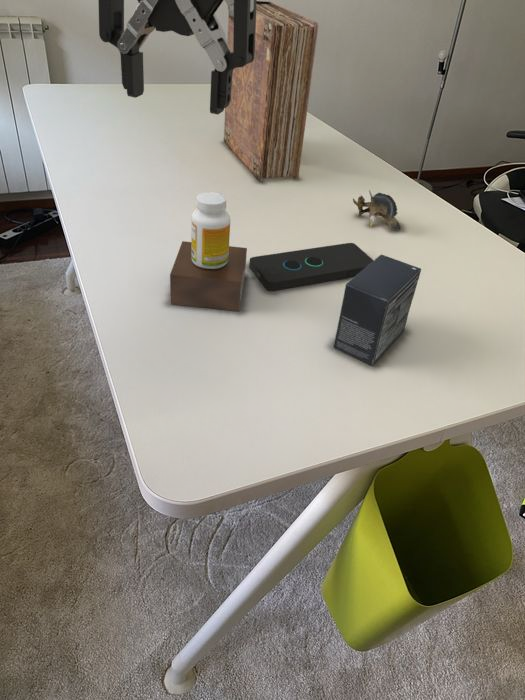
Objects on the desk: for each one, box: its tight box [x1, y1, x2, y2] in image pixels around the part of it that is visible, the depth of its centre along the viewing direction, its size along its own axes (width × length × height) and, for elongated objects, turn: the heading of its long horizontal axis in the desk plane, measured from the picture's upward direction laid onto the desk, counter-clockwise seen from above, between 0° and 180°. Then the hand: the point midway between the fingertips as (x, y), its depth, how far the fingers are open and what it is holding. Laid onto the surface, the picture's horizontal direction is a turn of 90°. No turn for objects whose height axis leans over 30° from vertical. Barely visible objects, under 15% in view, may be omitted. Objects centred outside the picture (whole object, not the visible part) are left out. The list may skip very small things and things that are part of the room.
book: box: [223, 0, 319, 183], centre depth 119 cm, size 25×9×30 cm, turn 21°
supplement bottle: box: [191, 191, 231, 269], centre depth 77 cm, size 5×5×10 cm
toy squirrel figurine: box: [352, 190, 402, 232], centre depth 105 cm, size 8×7×9 cm
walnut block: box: [169, 240, 248, 312], centre depth 82 cm, size 10×10×5 cm
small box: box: [333, 254, 422, 366], centre depth 74 cm, size 11×6×10 cm, turn 145°
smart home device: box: [248, 242, 375, 292], centre depth 90 cm, size 8×2×20 cm
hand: (176, 103), depth 53 cm, fingers open, 8 cm apart
